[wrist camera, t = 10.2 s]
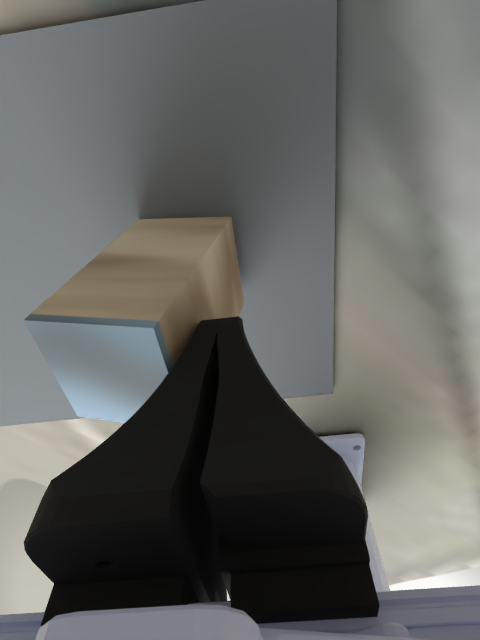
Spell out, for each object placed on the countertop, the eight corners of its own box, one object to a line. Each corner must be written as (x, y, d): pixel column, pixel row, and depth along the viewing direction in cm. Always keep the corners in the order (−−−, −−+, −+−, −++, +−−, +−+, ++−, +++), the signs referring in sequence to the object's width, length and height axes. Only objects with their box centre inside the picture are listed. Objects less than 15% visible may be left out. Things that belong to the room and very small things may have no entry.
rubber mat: (331, 388, 22) (333, 393, 22) (-29, 424, 24) (-33, 429, 24) (334, -22, 12) (337, -23, 12) (-304, 88, 14) (-317, 89, 13)
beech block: (244, 303, 17) (187, 431, 12) (162, 300, 18) (77, 416, 13) (231, 216, 15) (153, 328, 10) (138, 219, 16) (23, 320, 11)
